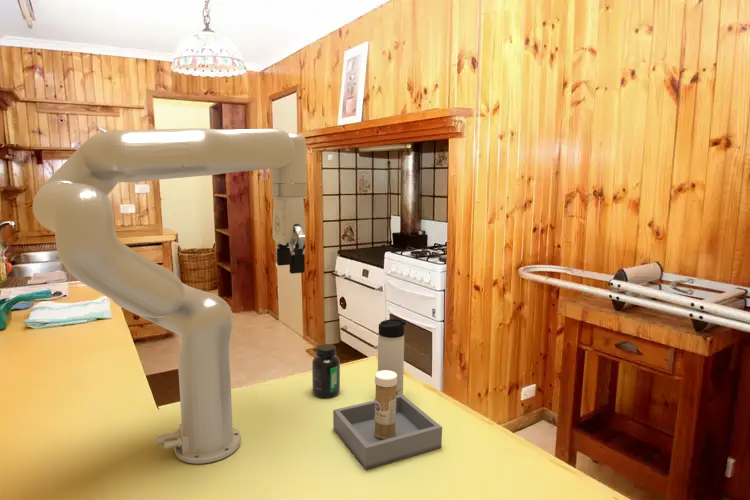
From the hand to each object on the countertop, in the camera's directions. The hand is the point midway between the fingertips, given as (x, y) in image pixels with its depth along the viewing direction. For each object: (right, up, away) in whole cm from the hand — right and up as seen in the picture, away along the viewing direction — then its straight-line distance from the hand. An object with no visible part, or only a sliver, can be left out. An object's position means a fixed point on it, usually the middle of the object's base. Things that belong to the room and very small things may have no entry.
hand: (290, 268), depth 107 cm
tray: (+21, -35, -7) cm, 42 cm away
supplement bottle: (+7, -32, +13) cm, 35 cm away
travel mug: (+23, -33, +10) cm, 41 cm away
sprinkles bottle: (+21, -35, -7) cm, 41 cm away
